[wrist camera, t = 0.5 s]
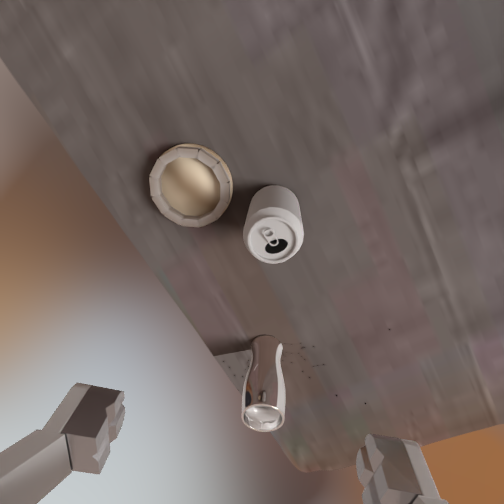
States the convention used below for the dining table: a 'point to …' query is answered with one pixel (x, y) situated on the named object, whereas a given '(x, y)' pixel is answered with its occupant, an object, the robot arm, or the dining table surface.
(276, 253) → the can
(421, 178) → the dining table surface
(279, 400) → the beer glass
